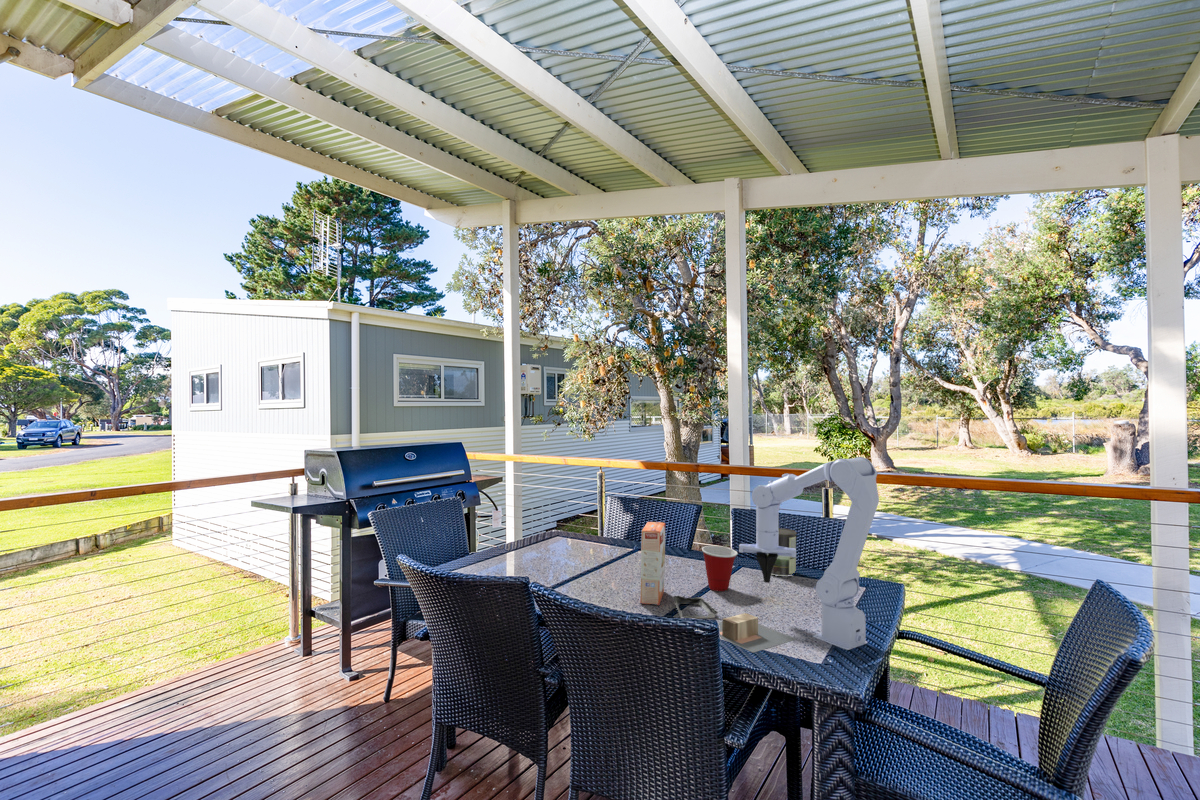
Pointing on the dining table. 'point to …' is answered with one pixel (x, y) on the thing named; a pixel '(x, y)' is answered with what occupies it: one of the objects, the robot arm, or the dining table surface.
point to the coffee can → (785, 563)
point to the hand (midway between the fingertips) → (767, 581)
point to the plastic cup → (718, 566)
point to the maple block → (739, 626)
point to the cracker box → (652, 563)
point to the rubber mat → (760, 639)
